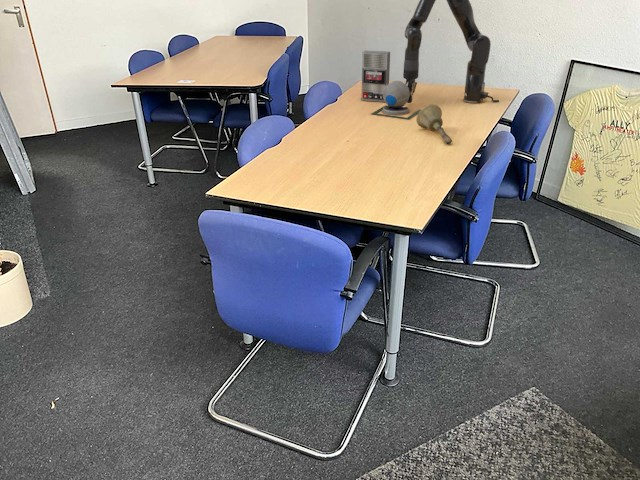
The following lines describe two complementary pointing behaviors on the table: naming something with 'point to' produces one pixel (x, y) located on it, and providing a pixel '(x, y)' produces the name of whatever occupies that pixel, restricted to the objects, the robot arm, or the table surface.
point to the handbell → (432, 120)
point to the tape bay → (394, 116)
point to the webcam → (396, 98)
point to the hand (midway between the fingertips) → (409, 102)
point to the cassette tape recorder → (375, 74)
